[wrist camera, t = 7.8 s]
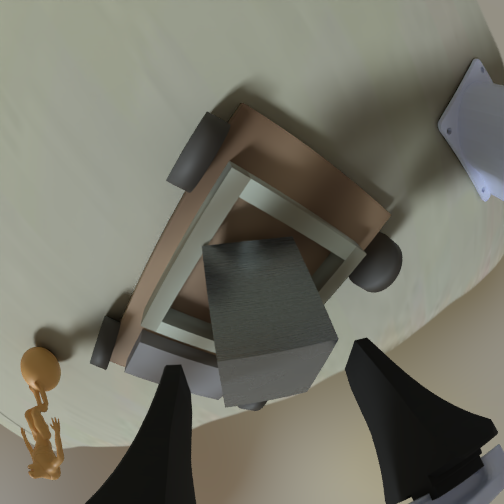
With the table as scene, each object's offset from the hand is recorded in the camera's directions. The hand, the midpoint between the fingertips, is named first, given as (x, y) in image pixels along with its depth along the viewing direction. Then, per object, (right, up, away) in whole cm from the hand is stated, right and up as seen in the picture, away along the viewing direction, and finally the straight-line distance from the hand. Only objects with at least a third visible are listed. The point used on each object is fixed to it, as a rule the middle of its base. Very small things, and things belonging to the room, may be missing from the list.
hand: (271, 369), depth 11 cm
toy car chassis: (-2, +2, +7) cm, 8 cm away
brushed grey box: (-1, +3, +5) cm, 6 cm away
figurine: (-19, -5, +9) cm, 21 cm away
